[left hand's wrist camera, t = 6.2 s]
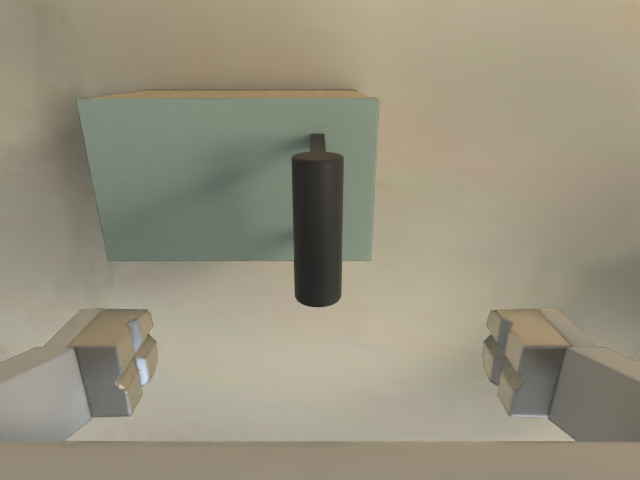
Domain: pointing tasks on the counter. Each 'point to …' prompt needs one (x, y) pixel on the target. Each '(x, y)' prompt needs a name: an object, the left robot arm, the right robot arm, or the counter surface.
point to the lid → (237, 181)
